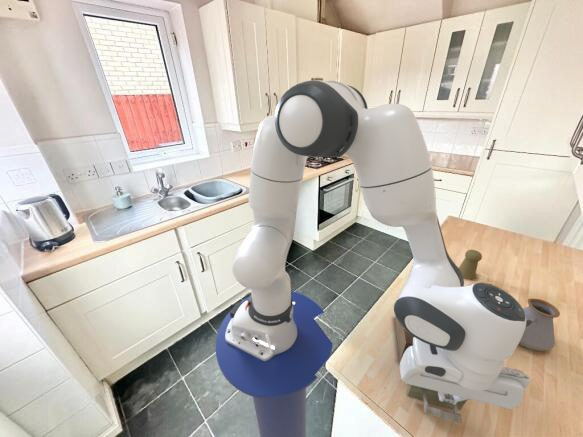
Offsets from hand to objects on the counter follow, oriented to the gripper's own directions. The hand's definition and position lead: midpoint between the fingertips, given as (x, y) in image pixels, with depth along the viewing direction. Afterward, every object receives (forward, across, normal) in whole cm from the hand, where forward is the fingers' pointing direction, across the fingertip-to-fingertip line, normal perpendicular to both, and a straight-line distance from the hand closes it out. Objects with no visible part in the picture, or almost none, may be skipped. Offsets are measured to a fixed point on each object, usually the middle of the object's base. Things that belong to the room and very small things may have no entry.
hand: (446, 399), depth 51 cm
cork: (+9, -23, -56) cm, 61 cm away
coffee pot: (+9, -26, -26) cm, 38 cm away
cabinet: (+8, 0, -19) cm, 21 cm away
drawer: (+8, 0, -7) cm, 10 cm away
